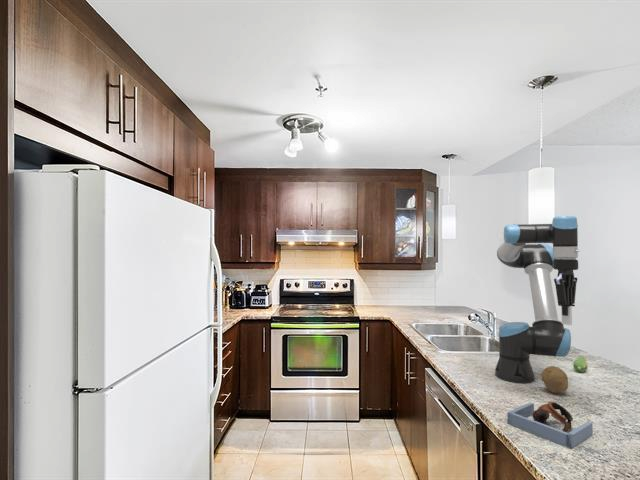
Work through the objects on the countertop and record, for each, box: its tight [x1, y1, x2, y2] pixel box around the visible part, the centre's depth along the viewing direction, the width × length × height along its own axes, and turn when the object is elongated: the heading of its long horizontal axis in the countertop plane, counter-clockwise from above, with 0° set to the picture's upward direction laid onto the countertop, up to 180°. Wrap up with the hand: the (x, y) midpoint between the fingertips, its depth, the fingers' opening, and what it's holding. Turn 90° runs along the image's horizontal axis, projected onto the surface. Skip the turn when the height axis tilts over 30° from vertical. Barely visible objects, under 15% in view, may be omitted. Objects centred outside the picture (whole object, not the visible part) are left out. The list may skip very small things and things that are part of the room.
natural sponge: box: [540, 365, 569, 394], centre depth 142 cm, size 9×9×10 cm
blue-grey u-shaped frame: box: [506, 402, 594, 450], centre depth 113 cm, size 18×14×4 cm
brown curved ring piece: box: [532, 401, 574, 433], centre depth 114 cm, size 12×10×8 cm
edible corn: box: [573, 355, 588, 374], centre depth 172 cm, size 5×20×5 cm
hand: (566, 324), depth 132 cm, fingers closed
